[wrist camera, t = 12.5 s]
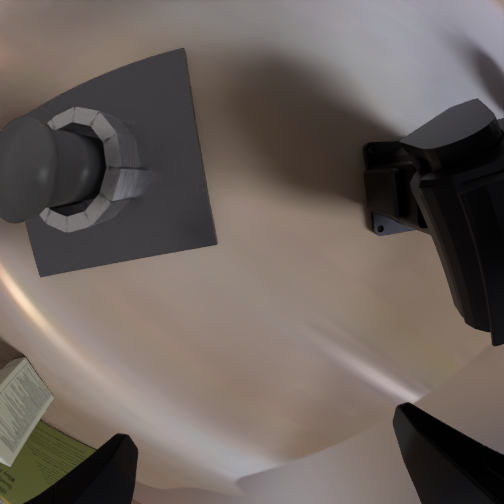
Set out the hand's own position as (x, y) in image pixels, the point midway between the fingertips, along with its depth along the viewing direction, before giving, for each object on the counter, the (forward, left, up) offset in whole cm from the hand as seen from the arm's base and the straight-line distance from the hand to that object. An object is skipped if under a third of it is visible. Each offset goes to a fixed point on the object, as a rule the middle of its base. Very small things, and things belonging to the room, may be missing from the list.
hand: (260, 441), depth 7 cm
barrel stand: (+10, -11, -13) cm, 20 cm away
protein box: (+32, +22, -13) cm, 41 cm away
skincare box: (+28, +8, -13) cm, 32 cm away
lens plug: (+10, -11, -12) cm, 19 cm away
